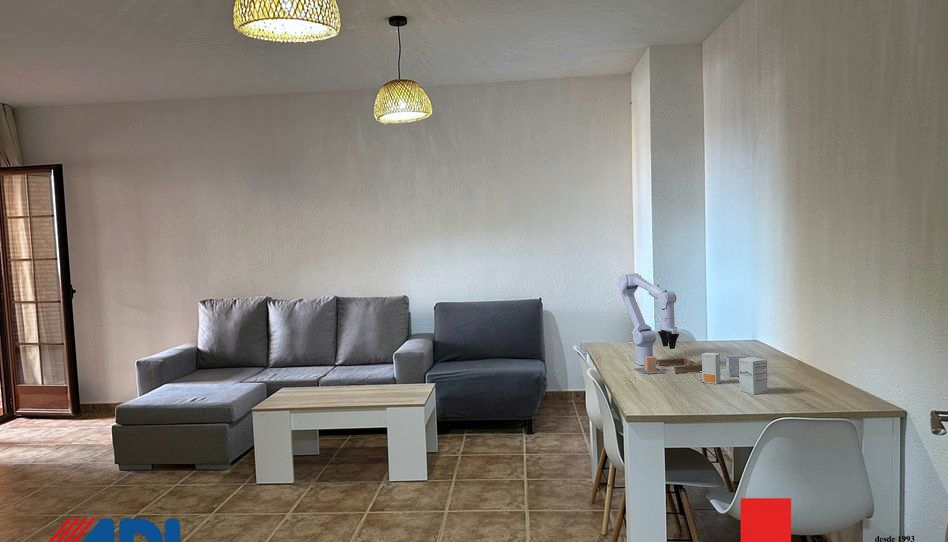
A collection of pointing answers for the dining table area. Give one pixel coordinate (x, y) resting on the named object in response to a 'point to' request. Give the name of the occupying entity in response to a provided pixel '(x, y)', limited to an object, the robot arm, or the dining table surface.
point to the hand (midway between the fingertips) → (668, 347)
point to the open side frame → (689, 367)
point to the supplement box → (753, 375)
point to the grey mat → (649, 371)
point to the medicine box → (733, 364)
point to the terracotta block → (649, 363)
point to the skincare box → (711, 368)
